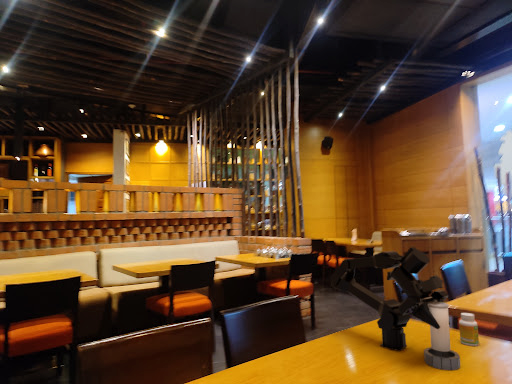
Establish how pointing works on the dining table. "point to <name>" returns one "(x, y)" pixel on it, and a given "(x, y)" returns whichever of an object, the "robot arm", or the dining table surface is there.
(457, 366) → the collar
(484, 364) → the dining table surface
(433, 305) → the duct sleeve
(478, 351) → the dining table surface
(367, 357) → the dining table surface
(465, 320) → the supplement bottle
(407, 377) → the dining table surface
